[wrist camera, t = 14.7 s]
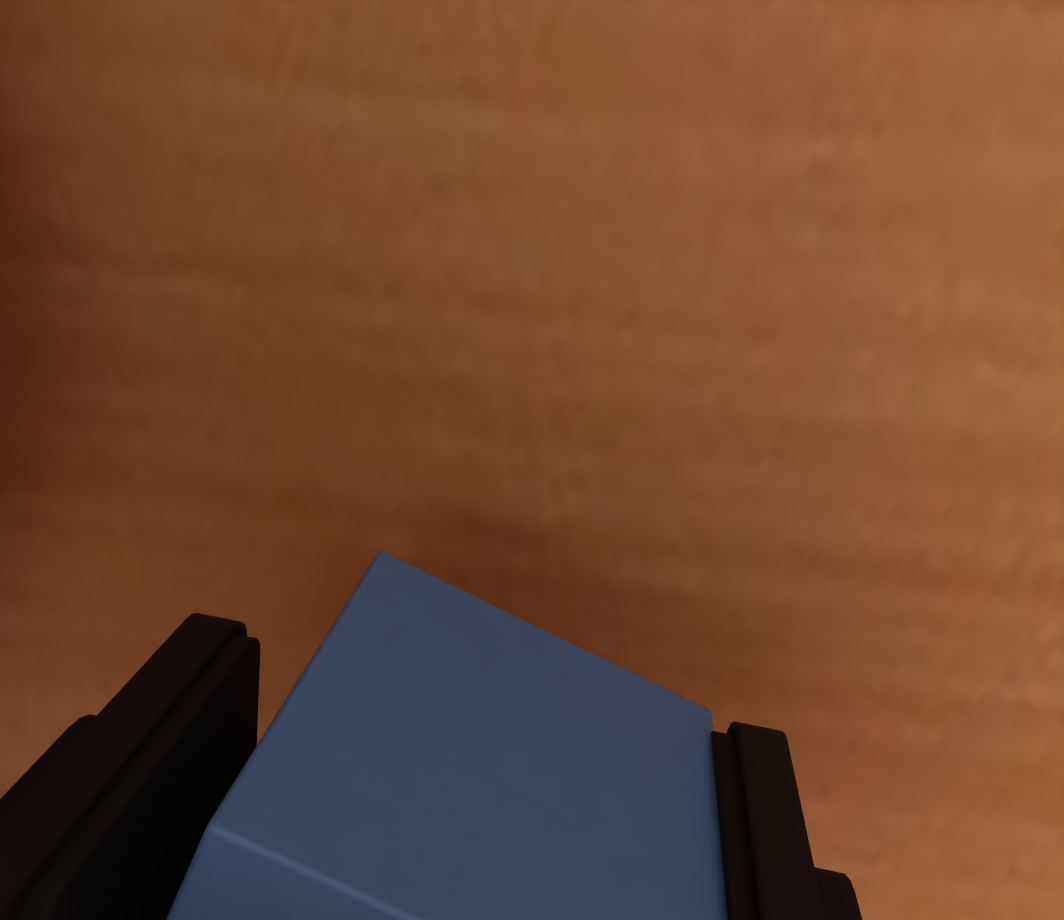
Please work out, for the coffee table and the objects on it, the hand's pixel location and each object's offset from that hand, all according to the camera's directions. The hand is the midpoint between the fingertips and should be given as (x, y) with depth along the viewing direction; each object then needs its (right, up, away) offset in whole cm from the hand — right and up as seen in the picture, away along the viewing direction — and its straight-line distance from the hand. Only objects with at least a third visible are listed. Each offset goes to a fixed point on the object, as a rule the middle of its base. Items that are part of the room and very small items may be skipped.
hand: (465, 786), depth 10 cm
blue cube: (0, 0, 0) cm, 0 cm away
